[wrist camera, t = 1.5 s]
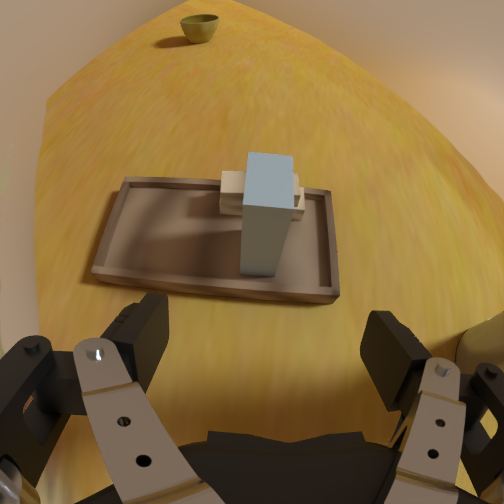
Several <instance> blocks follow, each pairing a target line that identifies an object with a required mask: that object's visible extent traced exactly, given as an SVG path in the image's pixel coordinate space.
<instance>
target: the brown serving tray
mask: <svg viewBox="0 0 504 504" xmlns="http://www.w3.org/2000/svg"><path fill="white" fill-rule="evenodd" d="M220 191H221V180H211V179H192V178H166V177H125V178H124V181H123V183H122V185H121V188H120V190H119V193H118V195H117V198H116V200H115V203H114V205H113V208H112V211H111V213H110V216H109V219H108V221H107V224H106V227H105V230H104V233H103V235H102V238H101V241H100V244H99V247H98V250H97V254H96V257H95V260H94V263H93V267H92V270H91V273H92V274H93V275H94V276H95V277H96V278H97V279H98V280H99V281H100V282H104V283H111V284H118V285H126V286H133V287H141V288H149V289H157V290H166V291H175V292H184V293H194V294H204V295H214V296H225V297H236V298H248V299H261V300H274V301H289V302H306V303H324V304H333V303H334V302H335V300H336V299H337V298H338V297H339V296H340V286H339V271H338V257H337V245H336V234H335V224H334V215H333V206H332V198H331V191H328V190H320V189H312V188H304V201H305V212H304V215H303V218H302V221H297V220H291V223H290V226H289V230H288V233H287V237H286V240H285V243H284V247H283V250H282V254H281V257H280V260H279V264H278V267H277V271H276V274H275V277H268V276H255V275H243V274H240V258H241V234H242V216H241V215H229V214H220V206H219V201H220Z"/></svg>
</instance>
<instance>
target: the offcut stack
mask: <svg viewBox="0 0 504 504" xmlns="http://www.w3.org/2000/svg"><path fill="white" fill-rule="evenodd" d="M293 178H294V212H293V216H292V219H291V220H297V221H302V218H303V215H304V212H305V201H304V187H300V185H299V178H298V174H293ZM245 180H246V171H222V178H221V191H220V201H219V206H220V214H229V215H241V216H242V211H243V198H244V189H245Z"/></svg>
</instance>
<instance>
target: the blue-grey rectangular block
mask: <svg viewBox="0 0 504 504" xmlns="http://www.w3.org/2000/svg"><path fill="white" fill-rule="evenodd" d="M293 212H294V178H293V156H286V155H277V154H267V153H256V152H249V153H248V162H247V171H246V180H245V189H244V198H243V211H242V234H241V258H240V274H243V275H255V276H268V277H275V274H276V271H277V267H278V264H279V260H280V257H281V254H282V250H283V247H284V243H285V240H286V237H287V233H288V230H289V226H290V223H291V219H292V216H293Z"/></svg>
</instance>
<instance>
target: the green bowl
mask: <svg viewBox="0 0 504 504" xmlns="http://www.w3.org/2000/svg"><path fill="white" fill-rule="evenodd" d="M218 22H219V16H216V15H211V14H198V15H191V16H187V17H184V18H182V19H180V24H181V27H182V30H183V32H184V34H185V35H186V37H187V38H188V40H189V41H190V42H191V43H195V44H200V43H206V42H208V41H209V40H210V39H211V38H212V36H213V35H214V33H215V31H216V28H217V26H218Z"/></svg>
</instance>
